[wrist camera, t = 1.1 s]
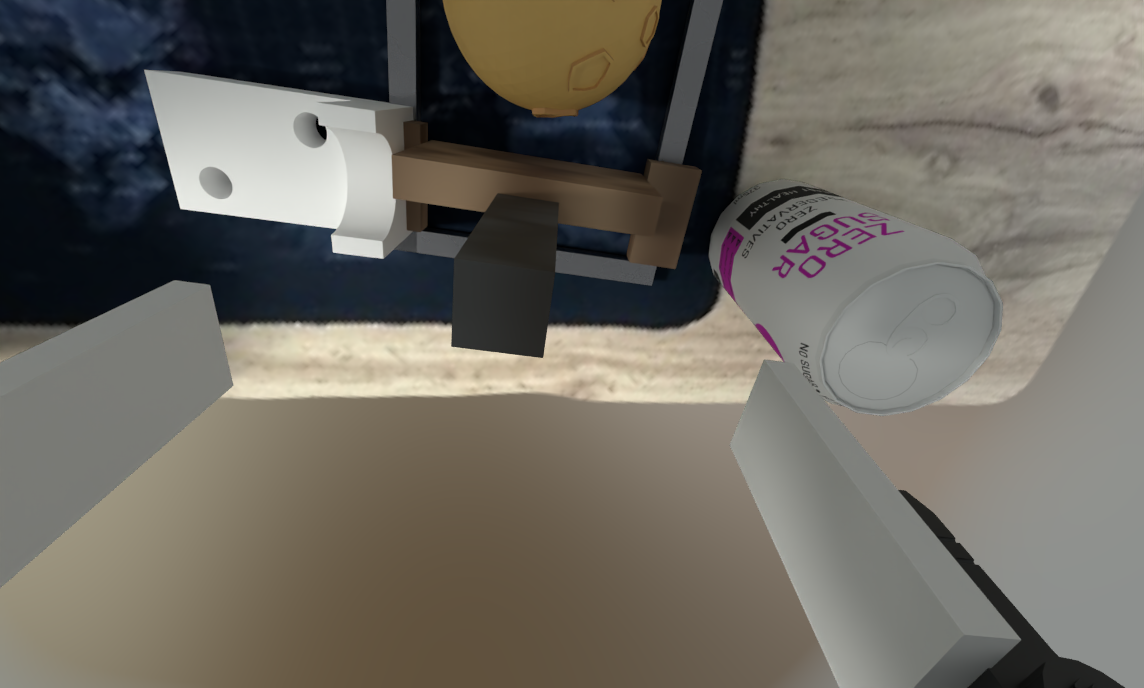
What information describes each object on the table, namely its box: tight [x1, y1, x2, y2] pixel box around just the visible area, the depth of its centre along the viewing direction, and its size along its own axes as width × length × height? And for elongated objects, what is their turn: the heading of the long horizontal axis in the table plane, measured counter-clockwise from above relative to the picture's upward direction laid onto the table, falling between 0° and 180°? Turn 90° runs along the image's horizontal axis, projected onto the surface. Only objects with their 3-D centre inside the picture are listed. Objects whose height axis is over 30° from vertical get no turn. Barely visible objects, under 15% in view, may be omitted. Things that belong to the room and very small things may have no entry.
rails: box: [386, 0, 723, 286], centre depth 25 cm, size 18×28×1 cm, turn 171°
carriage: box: [392, 120, 702, 358], centre depth 22 cm, size 19×6×18 cm, turn 81°
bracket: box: [144, 70, 413, 259], centre depth 26 cm, size 13×7×8 cm, turn 82°
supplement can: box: [709, 179, 1003, 416], centre depth 25 cm, size 8×8×15 cm
